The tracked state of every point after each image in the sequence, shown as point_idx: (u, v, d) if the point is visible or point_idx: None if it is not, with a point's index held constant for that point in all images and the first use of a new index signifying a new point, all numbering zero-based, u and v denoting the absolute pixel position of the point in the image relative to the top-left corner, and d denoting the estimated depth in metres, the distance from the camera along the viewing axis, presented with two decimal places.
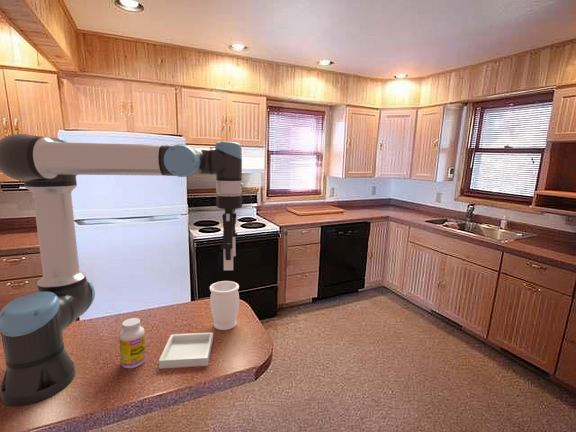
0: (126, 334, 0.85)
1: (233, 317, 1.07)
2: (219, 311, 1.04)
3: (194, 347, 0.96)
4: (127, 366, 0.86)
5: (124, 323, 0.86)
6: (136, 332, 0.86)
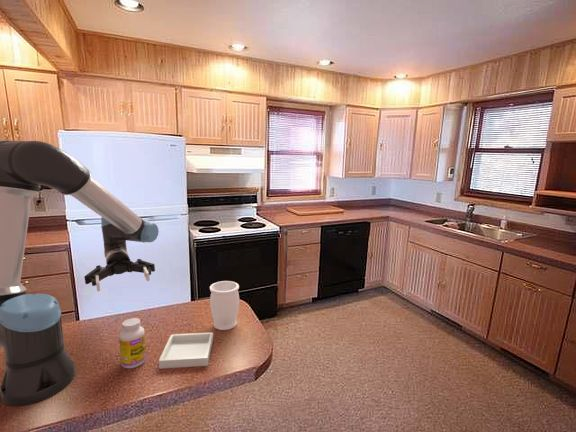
0: (126, 334, 0.85)
1: (233, 317, 1.07)
2: (219, 311, 1.04)
3: (194, 347, 0.96)
4: (127, 366, 0.86)
5: (124, 323, 0.86)
6: (136, 332, 0.86)
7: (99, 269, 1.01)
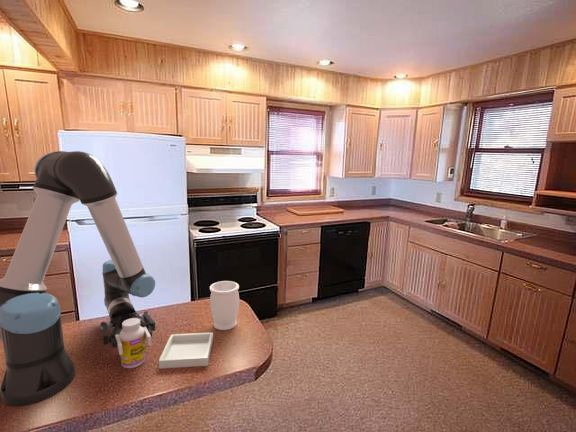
0: (126, 334, 0.85)
1: (233, 317, 1.07)
2: (219, 311, 1.04)
3: (194, 347, 0.96)
4: (127, 366, 0.86)
5: (124, 323, 0.86)
6: (136, 332, 0.86)
7: (107, 326, 0.92)
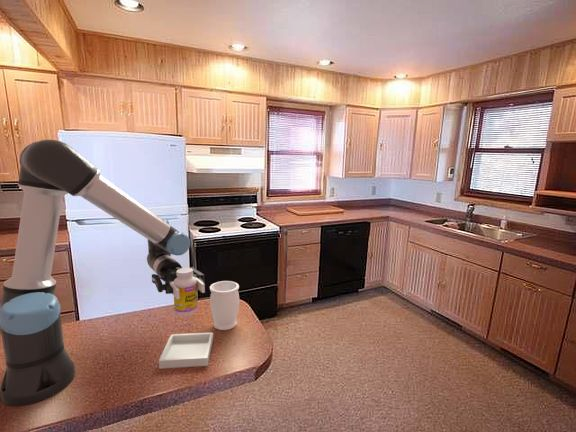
0: (181, 281, 0.87)
1: (233, 317, 1.07)
2: (219, 311, 1.04)
3: (194, 347, 0.96)
4: (182, 312, 0.88)
5: (178, 271, 0.89)
6: (190, 279, 0.89)
7: (158, 277, 0.95)
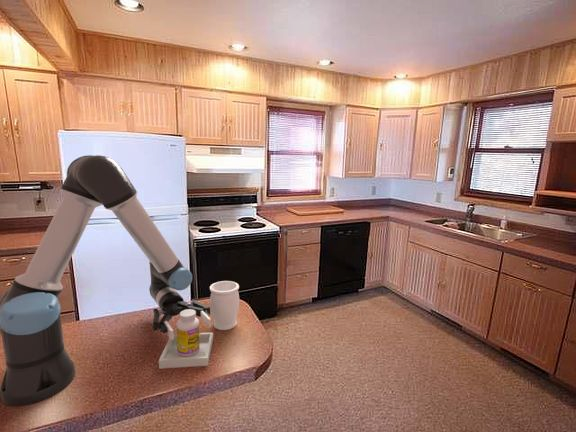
0: (184, 324, 0.90)
1: (233, 317, 1.07)
2: (219, 311, 1.04)
3: None
4: (184, 354, 0.90)
5: (181, 314, 0.91)
6: (193, 322, 0.91)
7: (158, 313, 0.97)
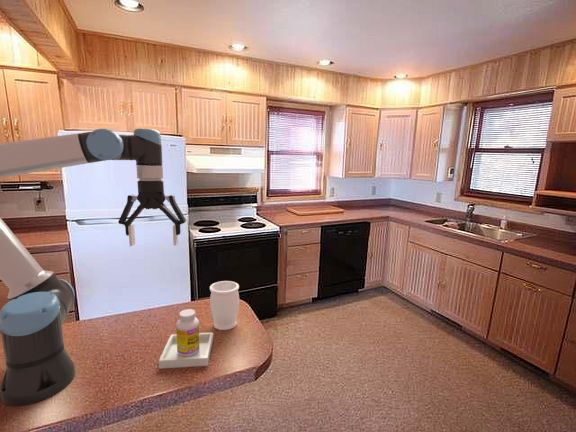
0: (184, 324, 0.90)
1: (233, 317, 1.07)
2: (219, 311, 1.04)
3: None
4: (184, 354, 0.90)
5: (181, 314, 0.91)
6: (192, 322, 0.91)
7: (131, 203, 0.95)
